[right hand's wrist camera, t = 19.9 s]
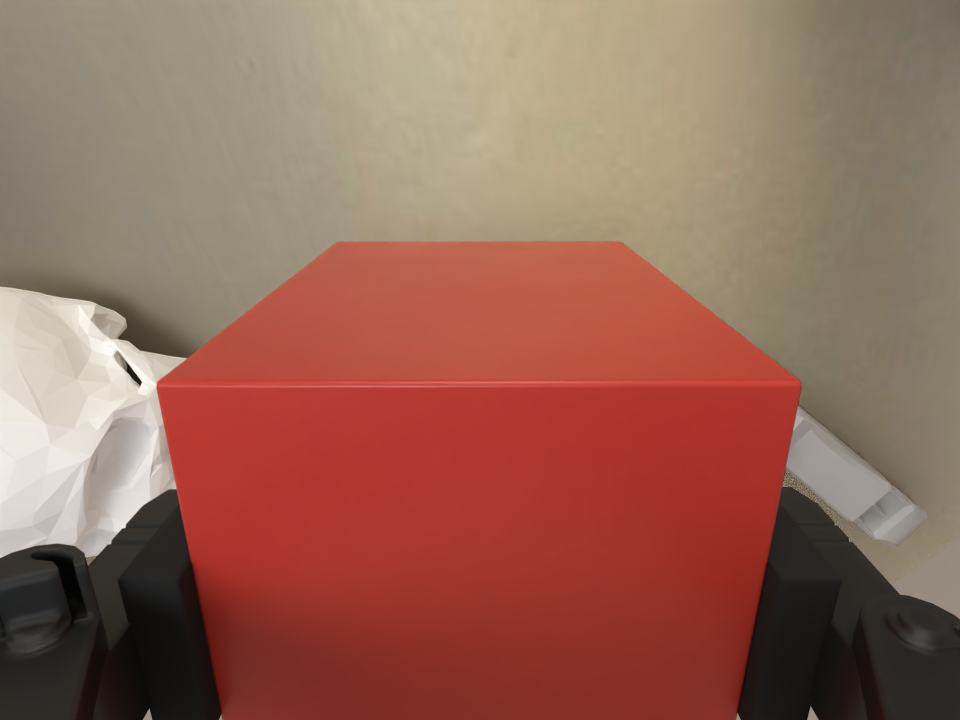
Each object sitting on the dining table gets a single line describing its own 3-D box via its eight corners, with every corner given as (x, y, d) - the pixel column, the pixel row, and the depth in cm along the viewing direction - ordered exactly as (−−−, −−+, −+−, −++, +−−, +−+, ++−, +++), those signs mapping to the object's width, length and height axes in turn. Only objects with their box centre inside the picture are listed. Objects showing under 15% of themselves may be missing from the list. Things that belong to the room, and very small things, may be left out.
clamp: (673, 378, 40) (717, 432, 34) (714, 335, 39) (767, 383, 33) (855, 518, 47) (921, 584, 40) (895, 484, 45) (968, 547, 39)
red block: (602, 495, 19) (716, 832, 10) (356, 495, 19) (242, 832, 10) (622, 241, 16) (806, 381, 7) (336, 240, 16) (152, 381, 7)
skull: (250, 527, 45) (140, 715, 30) (-60, 407, 42) (-360, 550, 27) (317, 373, 41) (230, 499, 26) (-17, 227, 38) (-337, 275, 23)
